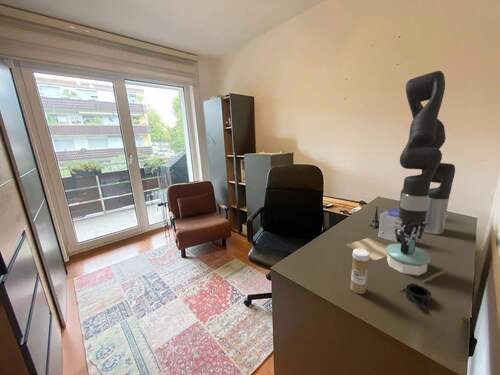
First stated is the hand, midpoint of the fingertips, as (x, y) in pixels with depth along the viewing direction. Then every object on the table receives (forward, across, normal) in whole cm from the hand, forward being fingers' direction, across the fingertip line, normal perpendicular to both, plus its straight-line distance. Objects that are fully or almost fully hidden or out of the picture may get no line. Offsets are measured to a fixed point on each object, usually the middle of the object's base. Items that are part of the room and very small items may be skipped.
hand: (407, 251), depth 77 cm
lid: (+1, 0, 0) cm, 1 cm away
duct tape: (+7, +13, +11) cm, 18 cm away
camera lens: (+6, -51, -31) cm, 60 cm away
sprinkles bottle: (+6, +25, +1) cm, 26 cm away
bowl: (+6, 0, 0) cm, 6 cm away
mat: (+6, 0, -14) cm, 15 cm away
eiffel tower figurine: (+7, -20, -28) cm, 35 cm away
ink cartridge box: (+6, -16, -16) cm, 24 cm away
